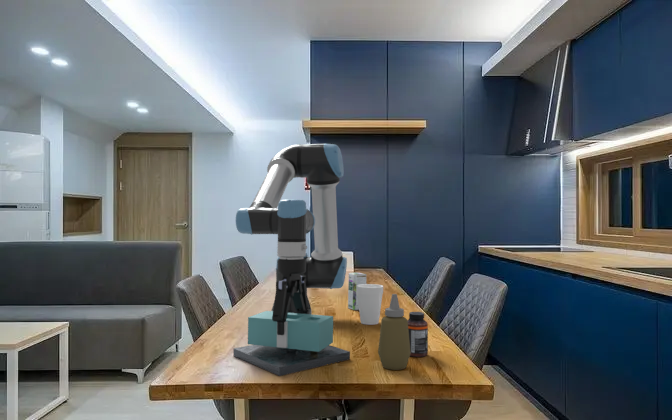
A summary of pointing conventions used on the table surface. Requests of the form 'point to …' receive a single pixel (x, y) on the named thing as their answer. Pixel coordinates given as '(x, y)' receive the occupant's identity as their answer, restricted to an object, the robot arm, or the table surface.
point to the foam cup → (369, 302)
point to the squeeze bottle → (394, 337)
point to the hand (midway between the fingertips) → (291, 342)
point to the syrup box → (354, 289)
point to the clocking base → (289, 358)
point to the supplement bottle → (418, 334)
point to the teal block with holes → (292, 331)
